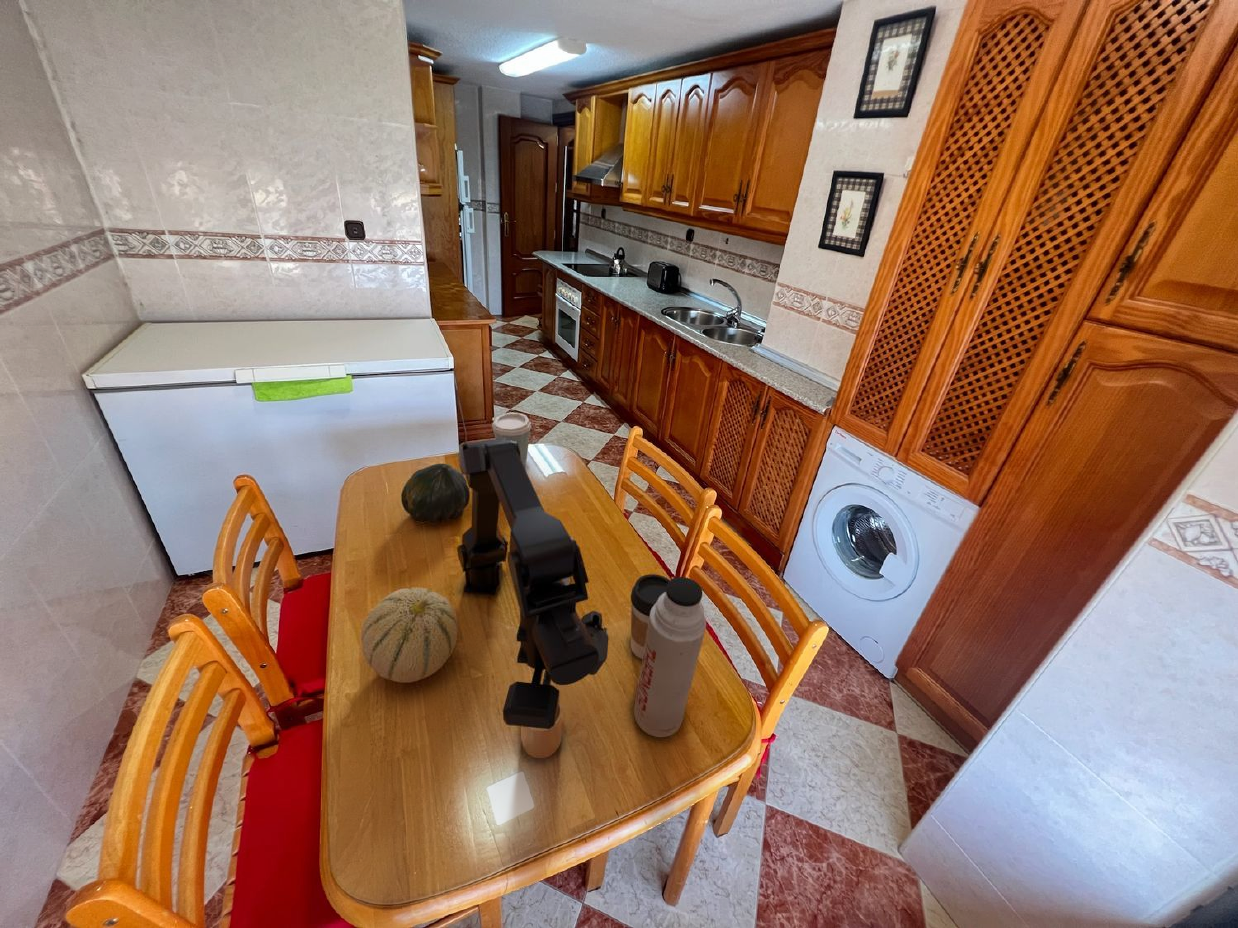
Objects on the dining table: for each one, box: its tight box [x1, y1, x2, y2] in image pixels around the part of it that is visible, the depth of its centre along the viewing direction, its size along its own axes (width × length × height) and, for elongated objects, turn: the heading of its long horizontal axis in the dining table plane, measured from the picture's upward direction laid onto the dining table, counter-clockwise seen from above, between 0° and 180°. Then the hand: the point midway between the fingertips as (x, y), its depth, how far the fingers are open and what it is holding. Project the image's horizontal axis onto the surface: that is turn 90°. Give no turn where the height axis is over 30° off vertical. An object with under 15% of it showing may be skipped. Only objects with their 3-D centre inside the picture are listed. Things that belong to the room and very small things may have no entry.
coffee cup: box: [630, 573, 671, 660], centre depth 88 cm, size 8×8×15 cm
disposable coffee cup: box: [491, 411, 532, 468], centre depth 138 cm, size 11×11×15 cm
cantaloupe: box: [360, 586, 459, 683], centre depth 81 cm, size 15×15×15 cm
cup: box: [520, 699, 564, 759], centre depth 74 cm, size 6×6×7 cm
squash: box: [400, 463, 471, 525], centre depth 117 cm, size 14×15×15 cm
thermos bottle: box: [633, 576, 707, 738], centre depth 74 cm, size 8×8×28 cm
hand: (542, 694), depth 70 cm, fingers open, 9 cm apart
